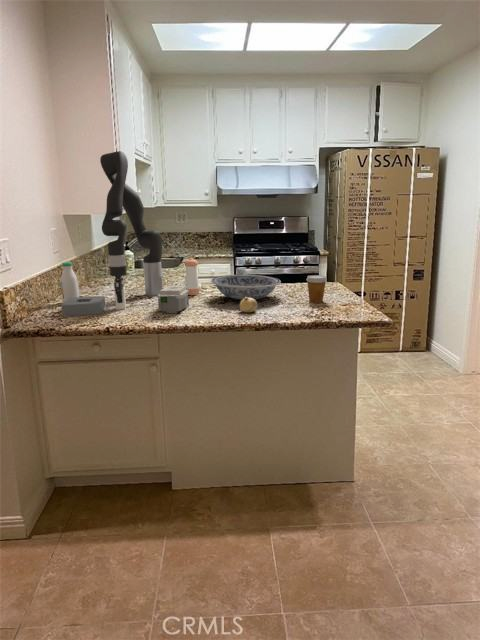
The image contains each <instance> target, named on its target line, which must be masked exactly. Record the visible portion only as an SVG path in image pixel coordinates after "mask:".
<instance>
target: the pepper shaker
mask: <svg viewBox="0 0 480 640" xmlns="http://www.w3.org/2000/svg"><path fill="white" fill-rule="evenodd" d="M183 264H184V266H185V272H186V273H185V274H186V276H185V286H186V288H188V289H186V290H188V291H189V294H188V295H196V296H199V295H200V287H199V278H198V269H197V268H198V267H197V266H198V265H199V262H198V260H197V259H193V258H192V257H190V258H189V259H186V260H185V261H184V262H183ZM198 294H199V295H198Z"/></svg>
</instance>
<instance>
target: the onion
mask: <svg viewBox="0 0 480 640" xmlns="http://www.w3.org/2000/svg"><path fill="white" fill-rule="evenodd" d="M258 305H259V304H258V302H257V299H253V298H248V297H245V298H244V299H243V300H240V303H239V309H240V311H241V312H242V313H253V312H254V313H255V312H256V311H257V309H258Z"/></svg>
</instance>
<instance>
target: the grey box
mask: <svg viewBox="0 0 480 640" xmlns="http://www.w3.org/2000/svg"><path fill="white" fill-rule="evenodd" d="M186 289H188V288H186V285H167V286H166V287H163V289H162V290H160V294H159V295H156V296H157V301H158V302H157V303H158V308H159V310H160V311H161V312H162V313H163V312H164V313H165V314H177V313H179V312H180V311H183V310H185V309H186V308H187V307H188V305H190V304H189V303H190V299H189V297H190V296H188V294H189V291H188V290H186Z"/></svg>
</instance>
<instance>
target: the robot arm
mask: <svg viewBox="0 0 480 640" xmlns="http://www.w3.org/2000/svg"><path fill="white" fill-rule="evenodd" d="M99 159H100V165H101V168H102V171H103V172H104V174H105V176H106V177H107V179H108V181H109V182H110V184H111V187H110V189H109V191H107V192H108V193H107V196H106V208H105V215H104V218H103V221H102V224H101V231H102V234H103V235H104V236H106V237H118V238H117V239H116V240H113V241H109V242H108V244H107V253H108V268H109V269H108V271H109V276H111V277H114V279H113V283H114V284H115V289H114V293H115V292H116V295H117V302H118V303H122V302H123V300H122V289H123V285H122V284H123V282H124V283H125V280H124V277H123V276H126V275H127V274H128V272H127V270H128V269H127V260H126V255H125V253H126V252H125V238H126V233H127V228H128V227H127V223H126V222H125V221H124V220H123V219H116V218H118V217H121V216H123V213H124V212H125V213H126V214H125V215H127V218H128V220H129V221H130V225H131V226H132V229H133V231H134V234H135V237H136V239H137V240H136V241H137V242H138V244H139V246H140V247H141V248H142V249H147V250H148V249H149V252H148V254H147V255H144V256H143V258H142V259H143V261H142V263H143V275H144V277H143V278H144V289H145V290H144V292H145V296H149V297H152V296H153V297H154V296H157V295H159V294H160V290H162V289H164V282H163V272H162V270H163V269H162V257H163V256H162V255H163V239H162V238H163V237H162V234H161V233H160V232H159V231H158V230H148V229H147V228H146V226H145V223H144V214H145V213H144V211H145V210H144V209H145V207H144V204H143V202H142V200H141V198H140V195H139V194H138V193H137V191H136V190H134V189H133V188H132V187H131V186H129V185H128V184H127V183H126V181H127V176H128V175H127V174H128V169H129V161H128V158H127V155H126V154H125V152H123V151H121V150H119V151H114V152H108V153H104V154H101V156H100V158H99ZM123 211H124V212H123ZM114 284H113V285H114ZM117 290H120V292H118V291H117Z"/></svg>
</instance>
